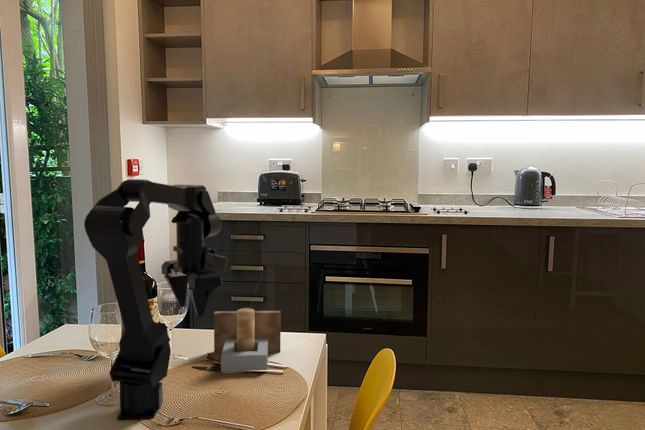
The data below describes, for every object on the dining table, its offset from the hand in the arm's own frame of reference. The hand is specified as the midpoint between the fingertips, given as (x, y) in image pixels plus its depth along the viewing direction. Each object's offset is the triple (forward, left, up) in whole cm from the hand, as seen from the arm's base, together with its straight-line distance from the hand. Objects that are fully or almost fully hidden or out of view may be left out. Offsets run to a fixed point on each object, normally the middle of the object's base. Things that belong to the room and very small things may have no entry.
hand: (190, 311), depth 103 cm
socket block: (+12, +1, -13) cm, 18 cm away
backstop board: (+12, +8, -13) cm, 20 cm away
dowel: (+12, +1, -13) cm, 18 cm away
